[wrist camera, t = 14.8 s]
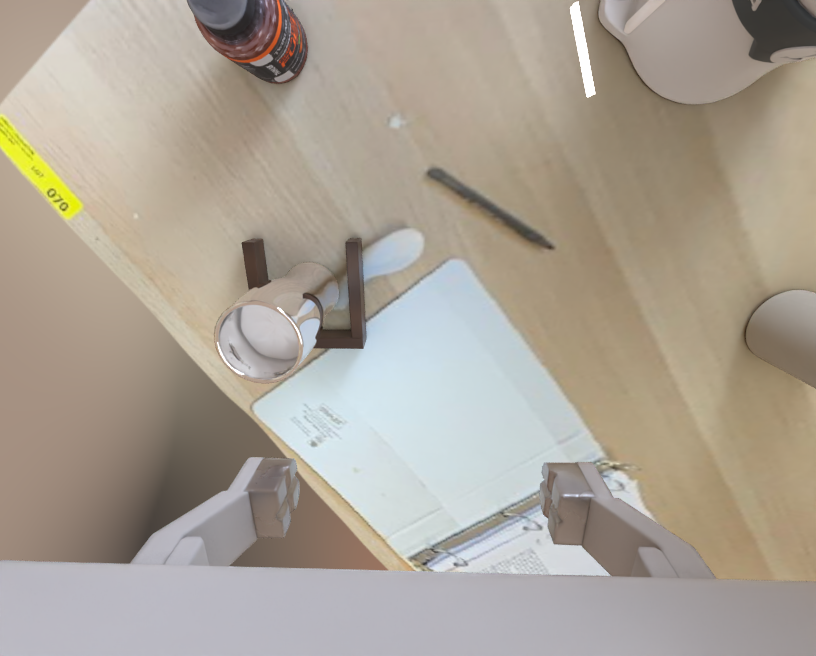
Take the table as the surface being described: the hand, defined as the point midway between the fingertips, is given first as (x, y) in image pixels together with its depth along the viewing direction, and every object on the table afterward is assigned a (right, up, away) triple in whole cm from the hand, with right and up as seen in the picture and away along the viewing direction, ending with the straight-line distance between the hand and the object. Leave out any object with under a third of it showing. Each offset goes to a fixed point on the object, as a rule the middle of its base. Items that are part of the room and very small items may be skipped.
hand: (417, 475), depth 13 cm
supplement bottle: (-12, +30, +23) cm, 39 cm away
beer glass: (-11, +9, +31) cm, 34 cm away
